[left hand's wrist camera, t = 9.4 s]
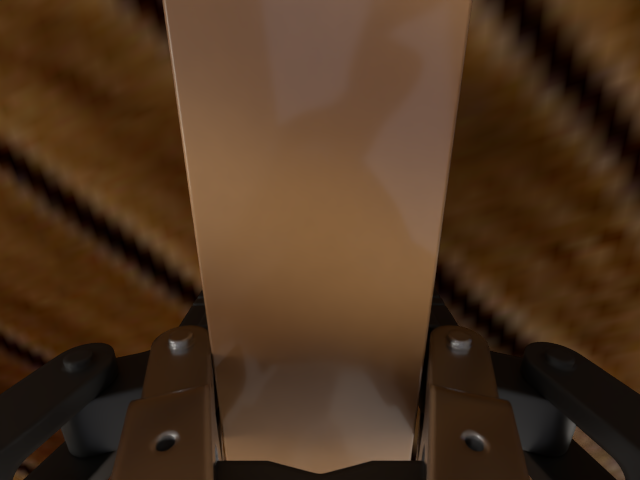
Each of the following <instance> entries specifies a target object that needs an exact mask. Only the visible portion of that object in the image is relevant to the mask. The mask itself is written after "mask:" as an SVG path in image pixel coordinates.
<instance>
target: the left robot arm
mask: <svg viewBox="0 0 640 480" xmlns="http://www.w3.org/2000/svg"><path fill="white" fill-rule="evenodd" d="M418 405H419V408H420V414H419V426H418V441H417V455H416V461H369V462H365V463H361V464H358V465H354V466H350V467H346V468H342V469H339V470H335V471H331V472H327V473H322V474H318V473H313V472H309V471H305V470H301V469H298V468H294V467H290V466H286V465H282V464H279V463H275V462H271V461H224V455H223V440H222V425H221V418H220V410H219V403H218V396H217V389H216V382H215V374H214V367H213V360H212V353H211V346H210V338H209V331H208V324H207V317H206V310H205V302H204V295H203V290H202V291H201V293H200V294H199V296H198V298H197V299H196V301H195V302H194V304H193V306H192V307H191V308H190V310H189V312H188V313H187V315H186V316H185V318H184V319H183V321H182V323H181V324H180V326H179V327H176V328H173V329H170V330H168V331H166V332H164V333H163V334H161V335H160V336H158V337H157V338H156V339H155V340H154V342H153V343H152V346H151V350H149V351H146V352H142V353H138V354H133V355H128V356H123V357H118V358H116V357H115V353H114V350H113V348H112V347H111V346H110V345H108V344H104V343H90V344H85V345H81V346H77V347H74V348H72V349H69V350H67V351H65V352H63V353H61V354H60V355H58V356H57V357H55V358H54V359H52V360H51V361H49V362H48V363H46V364H45V365H43V366H42V367H40V368H39V369H37V370H36V371H34V372H33V373H31V374H30V375H28V376H27V377H25V378H24V379H22V380H21V381H20V382H18V383H17V384H15V385H14V386H12V387H11V388H9V389H8V390H6V391H5V392H3V393H2V394H0V480H13V477H14V475H15V472H16V471H17V469H18V467H19V466H20V465H21V463H22V462H23V461H24V460H25V459H26V458H27V457H28V456H29V455H30V454H32V453H33V452H34V451H35V450H36V449H37V448H38V447H40V446H41V445H42V444H43V443H44V442H45V441H46V440H48V439H49V438H50V437H51V436H52V435H53V434H54V433H56V432H57V431H58V430H59V429H60V428H61V430H62V433H63V435H64V438H65V442H64V443H63V444H62V445H60V446H59V447H58V448H57V449H56V450H55V451H54V452H53V453H52V454H51V455H50V456H49V457H47V458H46V459H45V460H44V461H43V462H42V463H41V464H40V465H39V466H38V467H37V468H36V469H34V470H33V471H32V472H31V473H30V474H29V475H28V476H27V477H26V478H25V479H24V480H107V479H108V478H109V477H110V476H111V479H110V480H530V478H529V476H530V477H531V478H532V479H533V480H616V479H615V478H614V477H613V476H612V475H611V474H610V473H609V472H608V471H607V470H606V469H604V468H603V467H602V466H601V465H600V464H599V463H598V462H597V461H596V460H595V459H594V458H593V457H591V456H590V455H589V454H588V453H587V452H586V451H585V450H584V449H583V448H582V447H581V446H580V445H578V444H577V443H576V442H575V441H574V440H573V439H572V436H573V434H574V431H575V428H576V426H578V427H579V428H580V429H581V430H582V431H583V432H584V433H586V434H587V435H588V436H589V437H590V438H591V439H592V440H594V441H595V442H596V443H597V444H598V445H599V446H600V447H602V448H603V449H604V450H605V451H606V452H607V453H608V454H610V455H611V456H612V457H613V458H614V459H615V461H616V462H617V463H618V464H619V466H620V467H621V469H622V471H623V473H624V476H625V480H640V394H638V393H637V392H635V391H634V390H632V389H631V388H629V387H628V386H626V385H625V384H623V383H622V382H620V381H619V380H618V379H616V378H615V377H613V376H612V375H610V374H609V373H607V372H606V371H604V370H603V369H601V368H600V367H598V366H597V365H595V364H594V363H592V362H591V361H589V360H588V359H586V358H585V357H583V356H582V355H580V354H579V353H577V352H575V351H573V350H571V349H569V348H567V347H564V346H561V345H558V344H554V343H548V342H535V343H531V344H529V345H527V347H526V348H525V351H524V355H523V358H521V357H516V356H511V355H507V354H502V353H497V352H493V351H490V350H489V346H488V343H487V342H486V340H485V339H484V338H483V337H482V336H480V335H479V334H477V333H476V332H474V331H472V330H470V329H467V328H464V327H460V326H458V324H457V323H456V321H455V320H454V318H453V316H452V315H451V313H450V312H449V310H448V308H447V307H446V306H445V305H444V302H443V300H442V299H441V298H440V296H439V294H438V293H437V291H436V289H435V288H434V290H433V297H432V305H431V312H430V320H429V327H428V335H427V342H426V349H425V357H424V364H423V372H422V379H421V387H420V394H419V402H418Z"/></svg>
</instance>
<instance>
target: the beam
mask: <svg viewBox="0 0 640 480" xmlns="http://www.w3.org/2000/svg"><path fill="white" fill-rule="evenodd" d="M471 7H472V0H163V8H164V15H165V22H166V29H167V36H168V44H169V51H170V58H171V65H172V72H173V80H174V87H175V94H176V101H177V108H178V116H179V123H180V130H181V137H182V144H183V151H184V159H185V166H186V173H187V180H188V187H189V195H190V202H191V209H192V216H193V223H194V231H195V238H196V245H197V252H198V259H199V267H200V274H201V281H202V288H203V295H204V302H205V310H206V317H207V324H208V331H209V338H210V346H211V353H212V360H213V367H214V374H215V382H216V389H217V396H218V403H219V410H220V418H221V425H222V432H223V439H224V446H225V454H226V461H271V462H275V463H279V464H282V465H286V466H290V467H294V468H298V469H301V470H305V471H309V472H313V473H318V474H322V473H327V472H331V471H335V470H339V469H342V468H346V467H350V466H354V465H358V464H361V463H365V462H369V461H411V454H412V446H413V439H414V431H415V424H416V416H417V409H418V402H419V394H420V387H421V379H422V372H423V364H424V357H425V349H426V342H427V335H428V327H429V320H430V312H431V305H432V297H433V290H434V282H435V275H436V267H437V260H438V253H439V245H440V238H441V230H442V223H443V215H444V208H445V200H446V193H447V185H448V178H449V171H450V163H451V156H452V148H453V141H454V133H455V126H456V118H457V111H458V104H459V96H460V89H461V81H462V74H463V66H464V59H465V51H466V44H467V36H468V29H469V22H470V14H471Z"/></svg>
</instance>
